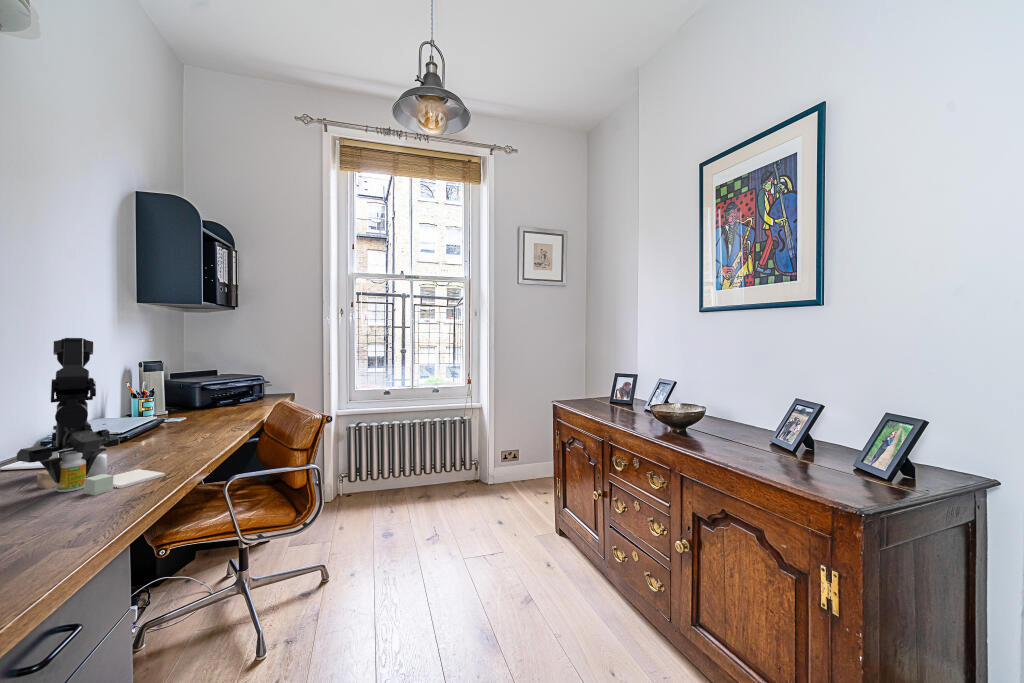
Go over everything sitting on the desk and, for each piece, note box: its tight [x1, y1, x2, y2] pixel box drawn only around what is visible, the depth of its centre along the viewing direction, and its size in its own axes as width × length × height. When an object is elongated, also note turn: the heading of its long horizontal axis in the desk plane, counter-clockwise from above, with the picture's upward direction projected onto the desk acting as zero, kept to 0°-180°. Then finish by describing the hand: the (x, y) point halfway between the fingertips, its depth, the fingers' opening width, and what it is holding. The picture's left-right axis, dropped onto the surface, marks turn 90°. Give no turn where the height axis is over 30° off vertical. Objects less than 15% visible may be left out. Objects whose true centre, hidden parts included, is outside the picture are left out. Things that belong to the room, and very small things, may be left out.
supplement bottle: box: [56, 451, 87, 493], centre depth 113 cm, size 5×5×10 cm
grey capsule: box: [87, 453, 108, 478], centre depth 123 cm, size 4×4×6 cm
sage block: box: [83, 473, 114, 496], centre depth 111 cm, size 4×4×4 cm
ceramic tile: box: [113, 468, 166, 489], centre depth 121 cm, size 11×11×1 cm
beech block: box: [36, 470, 57, 490], centre depth 115 cm, size 4×4×4 cm
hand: (71, 479), depth 113 cm, fingers closed on supplement bottle, 5 cm apart
